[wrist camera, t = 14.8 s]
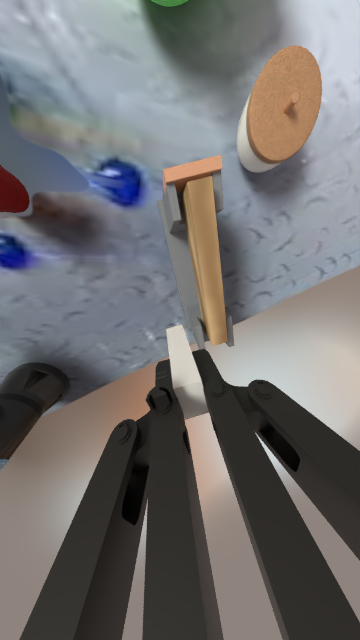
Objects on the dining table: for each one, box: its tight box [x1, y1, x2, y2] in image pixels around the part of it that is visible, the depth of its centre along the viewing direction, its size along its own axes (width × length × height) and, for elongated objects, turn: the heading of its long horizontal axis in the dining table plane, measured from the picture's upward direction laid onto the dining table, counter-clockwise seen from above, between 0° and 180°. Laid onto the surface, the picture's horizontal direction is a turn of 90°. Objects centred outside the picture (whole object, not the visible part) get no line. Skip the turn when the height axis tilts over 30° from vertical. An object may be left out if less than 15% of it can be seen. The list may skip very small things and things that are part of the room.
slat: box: [181, 176, 228, 345], centre depth 24 cm, size 3×24×6 cm, turn 13°
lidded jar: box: [236, 45, 322, 173], centre depth 23 cm, size 11×11×9 cm
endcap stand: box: [158, 155, 234, 350], centre depth 29 cm, size 9×30×14 cm, turn 13°
